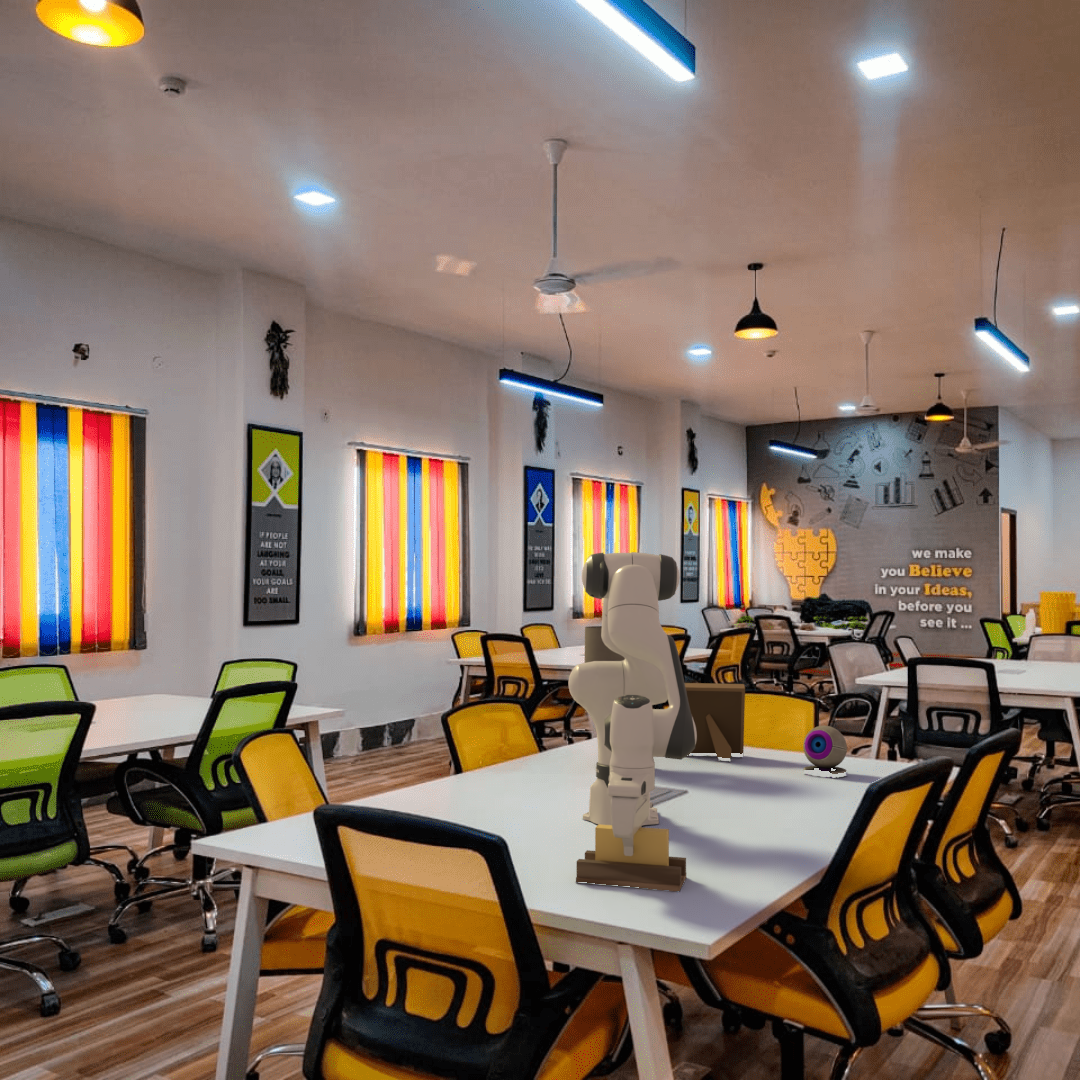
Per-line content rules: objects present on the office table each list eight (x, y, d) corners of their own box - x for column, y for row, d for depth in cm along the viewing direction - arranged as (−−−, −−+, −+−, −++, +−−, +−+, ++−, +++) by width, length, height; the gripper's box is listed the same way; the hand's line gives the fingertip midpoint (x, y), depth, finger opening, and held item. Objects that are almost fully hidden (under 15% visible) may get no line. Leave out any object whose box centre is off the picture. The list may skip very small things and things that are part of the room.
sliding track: (587, 869, 211) (587, 849, 211) (686, 877, 206) (686, 857, 206) (575, 883, 202) (575, 862, 202) (679, 891, 196) (679, 870, 197)
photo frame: (677, 754, 360) (678, 681, 361) (742, 755, 358) (742, 682, 359) (679, 761, 345) (679, 685, 346) (746, 763, 343) (746, 687, 344)
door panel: (598, 870, 207) (598, 824, 208) (668, 875, 204) (668, 829, 204) (595, 874, 204) (595, 827, 205) (666, 880, 201) (666, 832, 201)
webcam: (796, 774, 322) (796, 725, 322) (815, 769, 331) (814, 722, 332) (836, 780, 313) (835, 729, 314) (854, 774, 323) (853, 725, 324)
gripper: (626, 770, 216) (625, 837, 215) (605, 788, 196) (605, 863, 195) (656, 771, 214) (656, 840, 213) (639, 790, 194) (638, 865, 194)
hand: (631, 851), depth 204 cm, fingers open, 5 cm apart
